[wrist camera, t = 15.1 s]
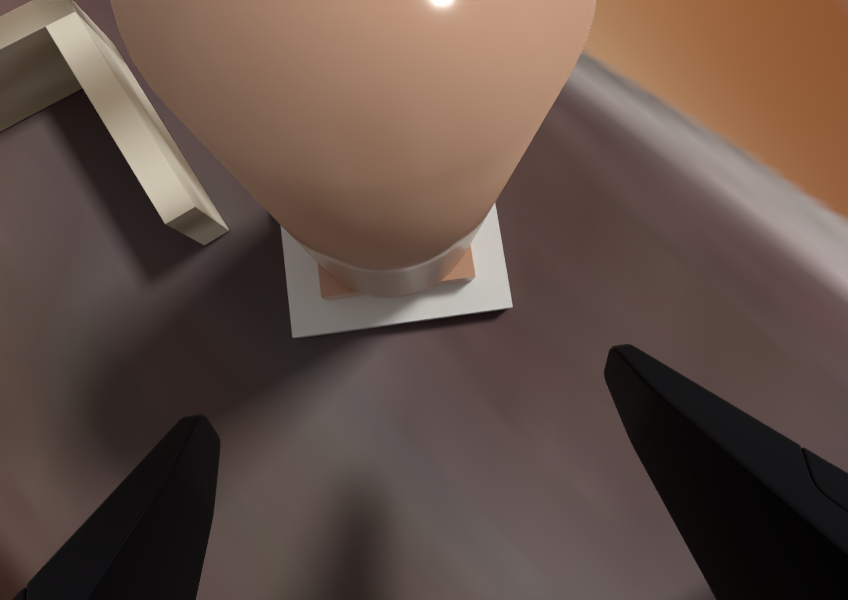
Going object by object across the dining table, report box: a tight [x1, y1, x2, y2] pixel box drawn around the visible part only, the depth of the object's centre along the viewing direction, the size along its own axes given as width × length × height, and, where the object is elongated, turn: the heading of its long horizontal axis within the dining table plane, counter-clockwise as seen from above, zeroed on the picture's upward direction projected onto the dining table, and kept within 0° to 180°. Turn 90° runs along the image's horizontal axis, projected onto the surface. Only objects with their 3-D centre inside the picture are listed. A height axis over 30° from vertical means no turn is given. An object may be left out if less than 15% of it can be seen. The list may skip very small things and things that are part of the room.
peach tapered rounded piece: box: [110, 0, 596, 300], centre depth 12 cm, size 7×7×12 cm
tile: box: [281, 203, 513, 338], centre depth 18 cm, size 9×9×1 cm
